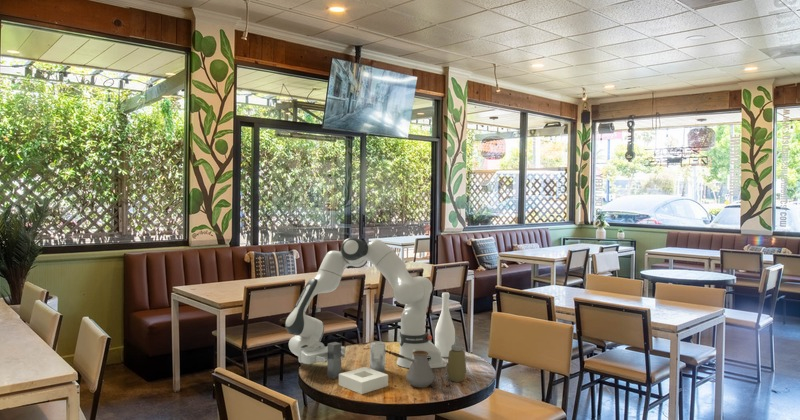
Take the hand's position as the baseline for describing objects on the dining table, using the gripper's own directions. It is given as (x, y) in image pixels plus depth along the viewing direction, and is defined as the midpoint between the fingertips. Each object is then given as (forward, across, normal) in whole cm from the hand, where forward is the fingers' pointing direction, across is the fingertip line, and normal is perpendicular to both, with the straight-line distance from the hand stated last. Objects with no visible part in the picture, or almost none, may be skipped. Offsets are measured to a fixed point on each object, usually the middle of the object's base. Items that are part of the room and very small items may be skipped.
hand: (334, 358), depth 234 cm
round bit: (+6, -19, -8) cm, 21 cm away
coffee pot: (+28, -16, -8) cm, 33 cm away
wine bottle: (+9, -59, -8) cm, 60 cm away
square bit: (0, 0, -8) cm, 8 cm away
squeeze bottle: (+36, -35, -8) cm, 51 cm away
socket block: (+16, -2, -8) cm, 18 cm away
